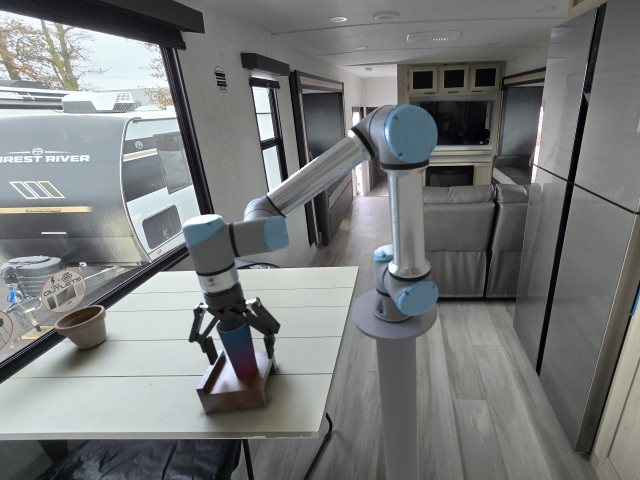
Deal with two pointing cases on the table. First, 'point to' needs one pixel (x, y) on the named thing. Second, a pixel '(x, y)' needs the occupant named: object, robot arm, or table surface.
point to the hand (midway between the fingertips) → (243, 358)
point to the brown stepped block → (234, 385)
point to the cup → (238, 346)
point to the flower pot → (84, 326)
